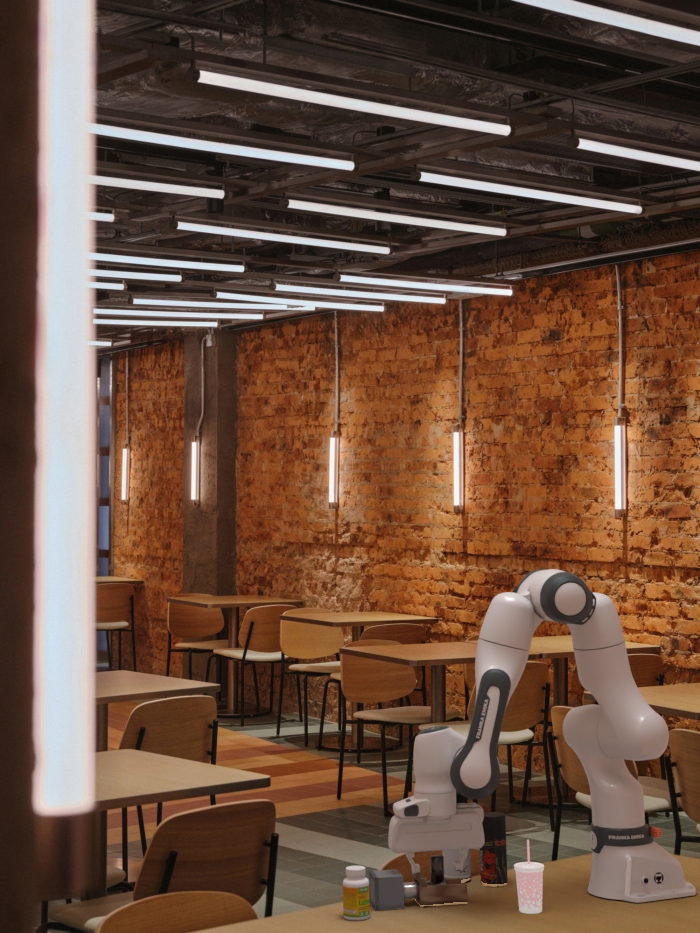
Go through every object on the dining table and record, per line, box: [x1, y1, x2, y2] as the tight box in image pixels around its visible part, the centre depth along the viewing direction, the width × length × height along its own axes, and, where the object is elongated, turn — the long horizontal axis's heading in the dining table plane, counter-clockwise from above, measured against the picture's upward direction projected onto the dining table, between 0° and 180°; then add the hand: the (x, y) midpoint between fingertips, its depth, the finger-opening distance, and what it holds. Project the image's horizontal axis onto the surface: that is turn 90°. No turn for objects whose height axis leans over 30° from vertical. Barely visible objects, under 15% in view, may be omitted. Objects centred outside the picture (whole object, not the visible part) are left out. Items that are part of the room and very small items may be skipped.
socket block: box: [368, 869, 405, 912], centre depth 251 cm, size 6×6×6 cm
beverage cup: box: [513, 839, 545, 915], centre depth 245 cm, size 6×6×14 cm
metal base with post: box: [403, 854, 446, 900], centre depth 252 cm, size 14×3×8 cm, turn 99°
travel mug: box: [441, 790, 472, 880], centre depth 272 cm, size 6×7×20 cm
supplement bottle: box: [342, 865, 371, 921], centre depth 243 cm, size 5×5×10 cm
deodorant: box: [479, 811, 509, 884], centre depth 268 cm, size 6×6×15 cm
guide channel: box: [413, 871, 469, 905], centre depth 253 cm, size 10×6×6 cm, turn 99°
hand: (437, 872), depth 253 cm, fingers open, 8 cm apart
